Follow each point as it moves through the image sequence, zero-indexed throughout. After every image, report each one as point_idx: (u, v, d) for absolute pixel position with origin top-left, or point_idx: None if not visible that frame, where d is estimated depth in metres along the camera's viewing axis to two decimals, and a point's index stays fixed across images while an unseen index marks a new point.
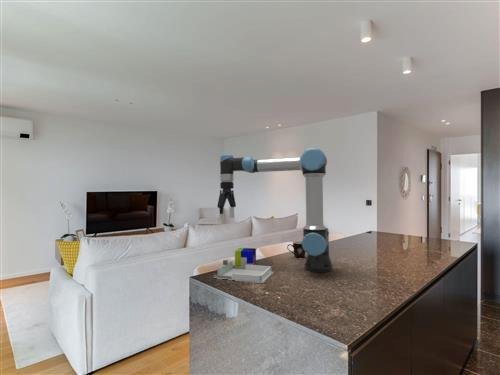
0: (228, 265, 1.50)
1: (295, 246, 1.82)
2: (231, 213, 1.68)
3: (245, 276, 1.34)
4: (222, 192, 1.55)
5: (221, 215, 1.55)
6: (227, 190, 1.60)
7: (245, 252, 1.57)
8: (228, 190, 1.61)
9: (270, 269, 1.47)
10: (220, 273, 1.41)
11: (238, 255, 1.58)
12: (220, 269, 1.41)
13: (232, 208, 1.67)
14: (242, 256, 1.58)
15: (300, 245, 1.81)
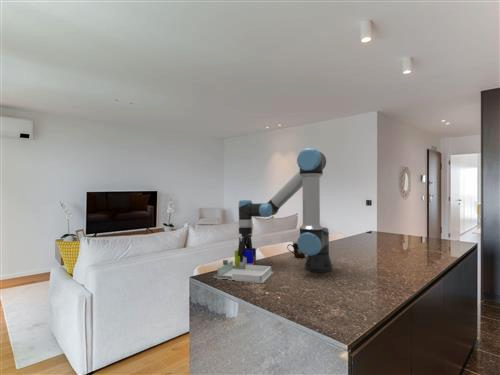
0: (228, 265, 1.50)
1: (295, 246, 1.82)
2: None
3: (245, 276, 1.34)
4: (241, 240, 1.56)
5: (241, 263, 1.57)
6: (246, 235, 1.61)
7: (245, 252, 1.57)
8: (246, 235, 1.62)
9: (270, 269, 1.47)
10: (220, 273, 1.41)
11: None
12: (220, 269, 1.41)
13: None
14: None
15: None
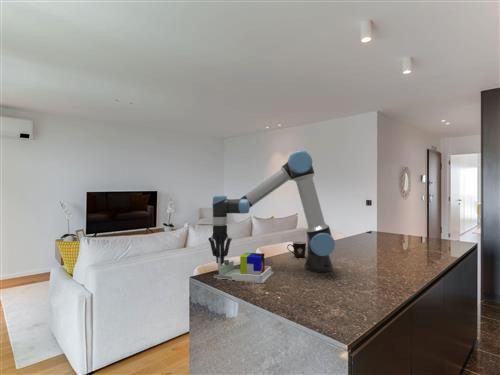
0: (229, 265, 1.50)
1: (295, 246, 1.82)
2: None
3: (245, 276, 1.34)
4: None
5: None
6: (214, 233, 1.49)
7: (252, 258, 1.38)
8: (218, 234, 1.49)
9: (270, 269, 1.47)
10: (221, 273, 1.41)
11: (243, 261, 1.39)
12: (221, 269, 1.41)
13: None
14: (248, 262, 1.38)
15: (300, 245, 1.81)
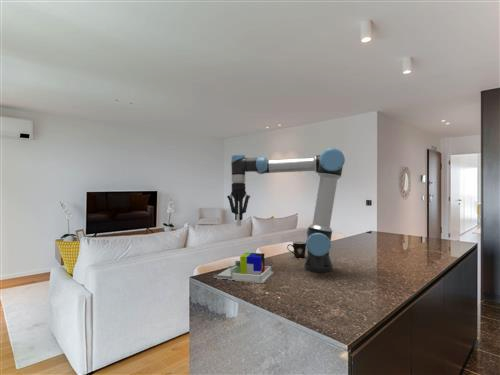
0: None
1: (295, 246, 1.82)
2: None
3: (245, 276, 1.34)
4: None
5: None
6: (233, 190, 1.54)
7: (252, 258, 1.38)
8: (237, 192, 1.53)
9: (270, 269, 1.47)
10: None
11: (243, 261, 1.39)
12: (233, 270, 1.39)
13: None
14: (248, 262, 1.38)
15: (300, 245, 1.81)
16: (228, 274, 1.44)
